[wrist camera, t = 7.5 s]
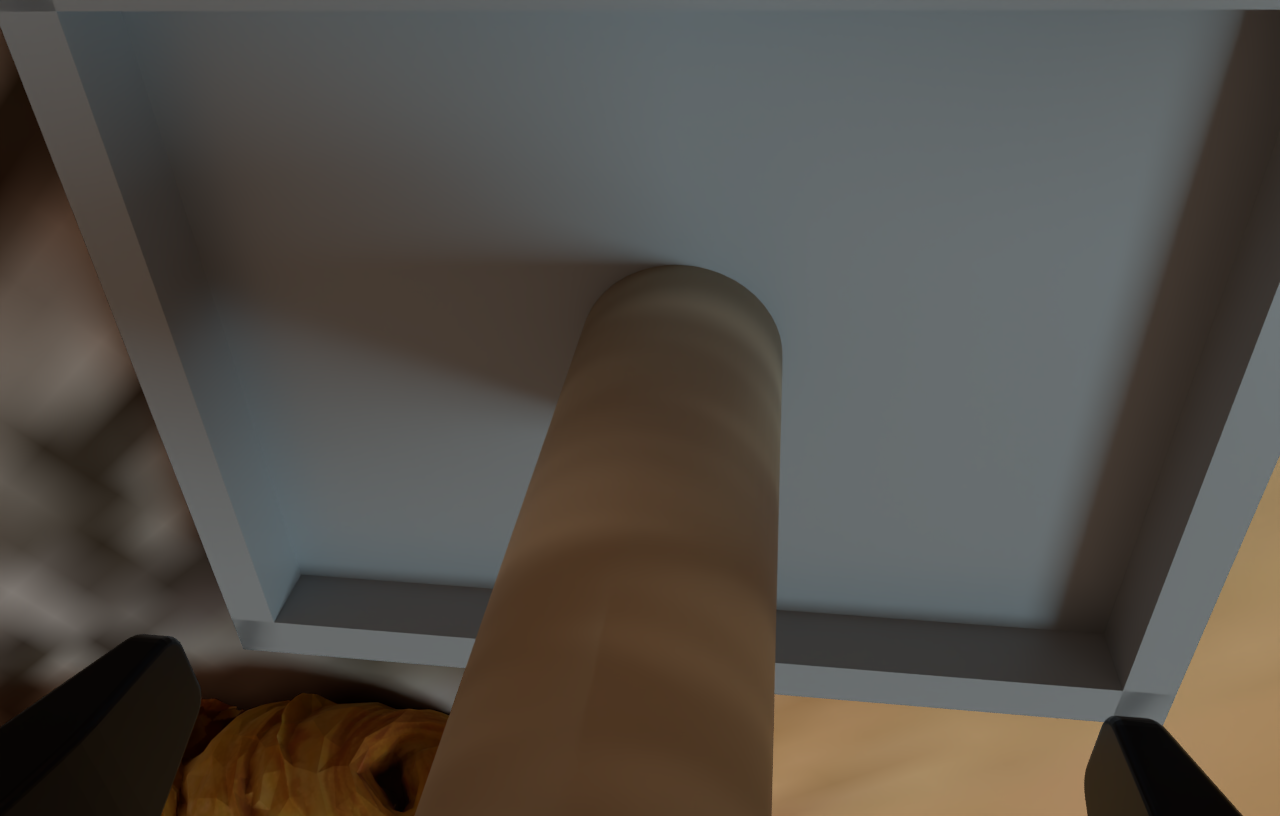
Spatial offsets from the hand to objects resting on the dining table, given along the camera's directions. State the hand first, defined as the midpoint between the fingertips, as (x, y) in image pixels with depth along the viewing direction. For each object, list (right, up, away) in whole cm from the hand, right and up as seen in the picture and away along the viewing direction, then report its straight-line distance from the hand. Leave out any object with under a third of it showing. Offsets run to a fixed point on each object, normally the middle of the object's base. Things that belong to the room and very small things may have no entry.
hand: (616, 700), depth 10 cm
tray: (+1, +4, +6) cm, 7 cm away
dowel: (+1, +4, +5) cm, 6 cm away
